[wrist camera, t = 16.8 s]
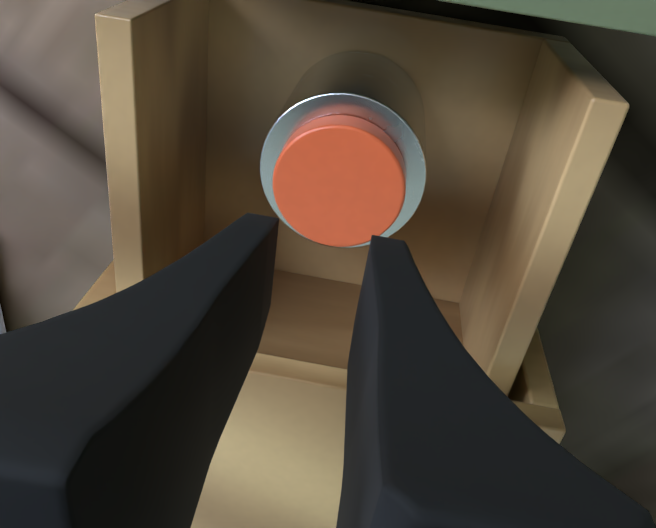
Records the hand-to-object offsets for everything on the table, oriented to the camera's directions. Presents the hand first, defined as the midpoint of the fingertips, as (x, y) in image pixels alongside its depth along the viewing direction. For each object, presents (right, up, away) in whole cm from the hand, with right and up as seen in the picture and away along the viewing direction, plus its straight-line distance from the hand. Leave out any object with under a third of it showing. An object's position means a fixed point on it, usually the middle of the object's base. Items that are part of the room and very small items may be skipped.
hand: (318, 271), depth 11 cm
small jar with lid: (+1, +5, +7) cm, 8 cm away
